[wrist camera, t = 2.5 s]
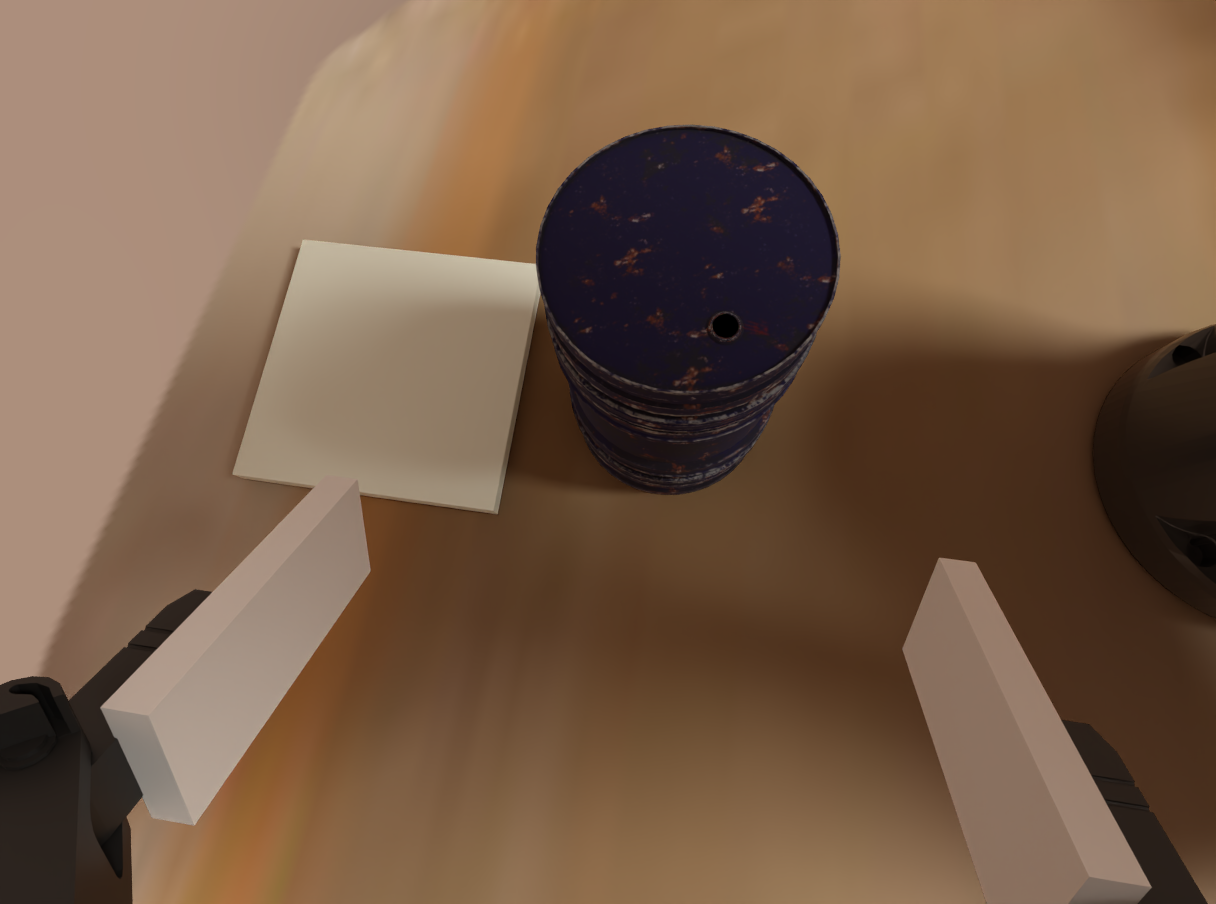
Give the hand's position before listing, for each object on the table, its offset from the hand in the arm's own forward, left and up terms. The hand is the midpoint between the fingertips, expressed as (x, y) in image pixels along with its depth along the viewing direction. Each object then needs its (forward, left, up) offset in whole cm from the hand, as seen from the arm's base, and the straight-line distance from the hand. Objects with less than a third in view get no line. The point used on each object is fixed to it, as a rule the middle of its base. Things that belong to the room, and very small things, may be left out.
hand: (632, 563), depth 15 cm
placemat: (+15, -10, -18) cm, 26 cm away
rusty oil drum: (0, -10, -18) cm, 21 cm away
